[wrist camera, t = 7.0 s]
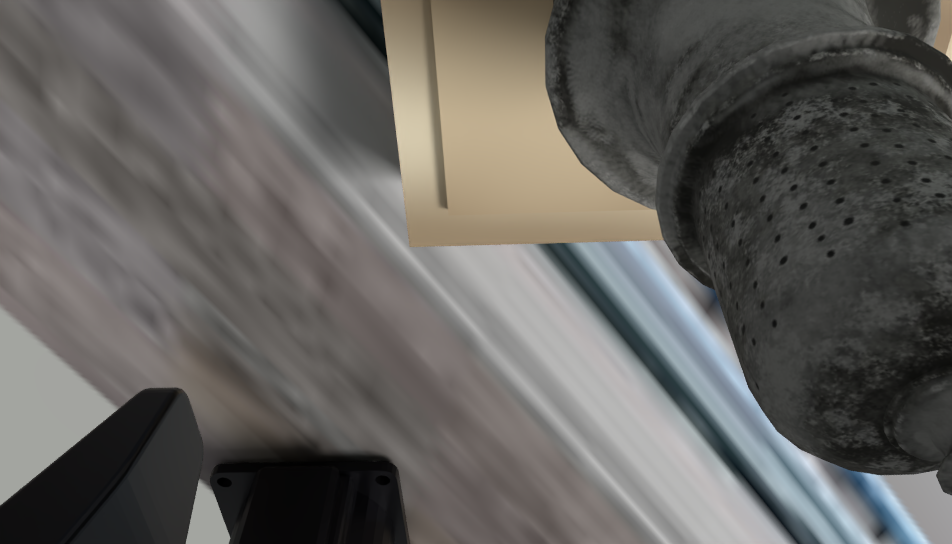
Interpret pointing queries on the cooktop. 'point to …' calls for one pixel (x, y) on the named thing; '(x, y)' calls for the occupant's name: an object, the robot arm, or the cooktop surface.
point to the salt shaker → (790, 196)
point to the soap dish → (497, 130)
